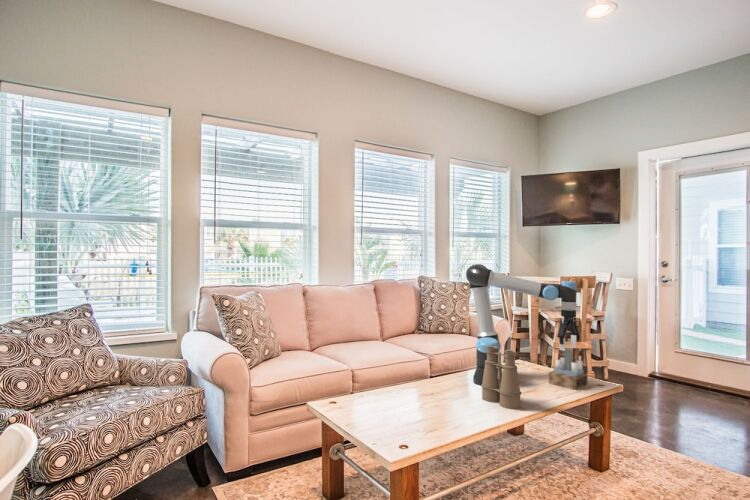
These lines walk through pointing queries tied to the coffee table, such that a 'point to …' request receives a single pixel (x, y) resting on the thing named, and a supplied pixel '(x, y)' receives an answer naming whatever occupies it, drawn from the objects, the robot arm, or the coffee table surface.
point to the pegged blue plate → (568, 364)
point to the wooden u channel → (568, 379)
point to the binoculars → (501, 379)
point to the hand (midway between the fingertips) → (567, 348)
